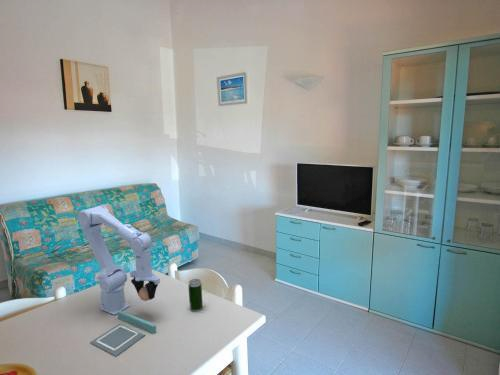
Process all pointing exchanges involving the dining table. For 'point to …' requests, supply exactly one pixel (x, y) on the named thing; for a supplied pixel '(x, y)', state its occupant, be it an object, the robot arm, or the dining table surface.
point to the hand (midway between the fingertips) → (146, 296)
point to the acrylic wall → (137, 321)
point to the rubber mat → (117, 339)
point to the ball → (143, 294)
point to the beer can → (195, 294)
